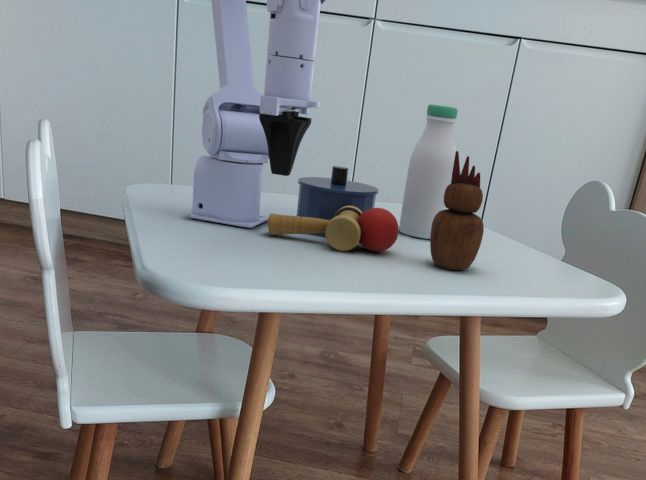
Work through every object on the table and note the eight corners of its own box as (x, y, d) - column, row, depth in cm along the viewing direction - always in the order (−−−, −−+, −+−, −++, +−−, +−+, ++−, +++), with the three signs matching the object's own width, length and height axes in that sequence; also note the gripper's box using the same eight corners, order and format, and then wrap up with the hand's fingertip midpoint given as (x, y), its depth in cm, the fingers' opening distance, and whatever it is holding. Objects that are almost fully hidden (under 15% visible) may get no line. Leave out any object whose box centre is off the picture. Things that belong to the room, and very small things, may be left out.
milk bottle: (439, 242, 107) (463, 108, 100) (392, 233, 109) (412, 101, 102) (449, 235, 114) (472, 109, 107) (405, 227, 116) (424, 103, 109)
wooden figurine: (421, 266, 91) (440, 149, 85) (431, 258, 96) (450, 148, 90) (471, 276, 89) (494, 158, 83) (478, 268, 94) (501, 156, 89)
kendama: (263, 250, 93) (396, 252, 90) (262, 202, 91) (397, 203, 89) (276, 249, 100) (399, 251, 98) (276, 205, 99) (400, 206, 97)
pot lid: (287, 189, 99) (290, 164, 97) (309, 181, 110) (311, 158, 109) (370, 203, 97) (373, 177, 96) (383, 193, 108) (386, 170, 107)
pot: (287, 230, 101) (291, 185, 99) (307, 218, 111) (311, 178, 109) (362, 243, 99) (368, 198, 97) (375, 230, 110) (381, 189, 108)
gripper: (307, 58, 74) (295, 185, 79) (336, 66, 88) (324, 174, 93) (246, 50, 75) (237, 175, 80) (284, 59, 89) (274, 166, 94)
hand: (280, 174), depth 86 cm, fingers closed
